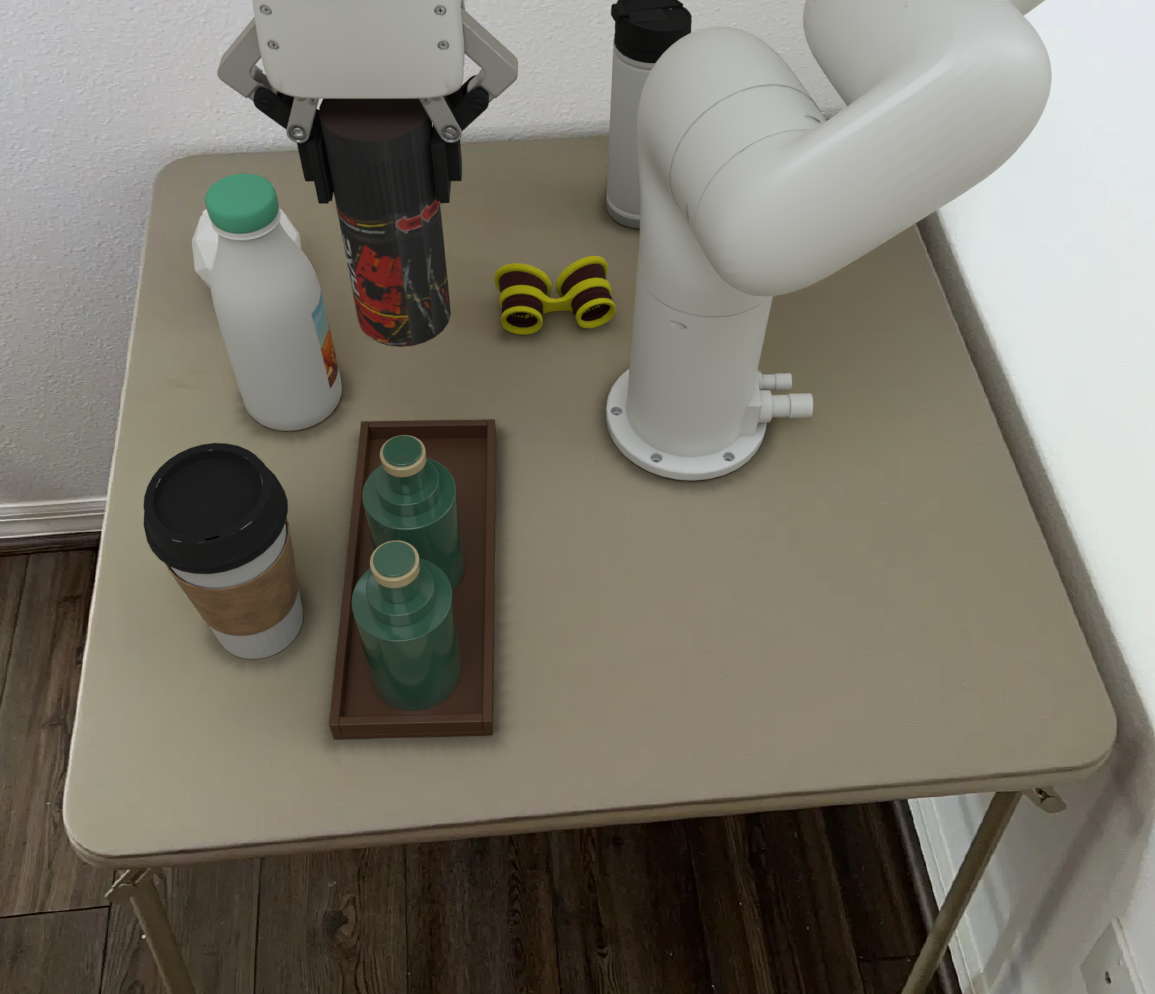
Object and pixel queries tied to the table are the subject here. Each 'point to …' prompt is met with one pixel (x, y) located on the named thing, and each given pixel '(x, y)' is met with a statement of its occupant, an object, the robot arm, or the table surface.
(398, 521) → the bottle middle
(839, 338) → the table surface
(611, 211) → the travel mug
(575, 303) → the opera glasses
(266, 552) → the coffee cup
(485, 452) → the tray
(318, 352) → the milk bottle
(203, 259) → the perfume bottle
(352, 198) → the deodorant
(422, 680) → the bottle front
